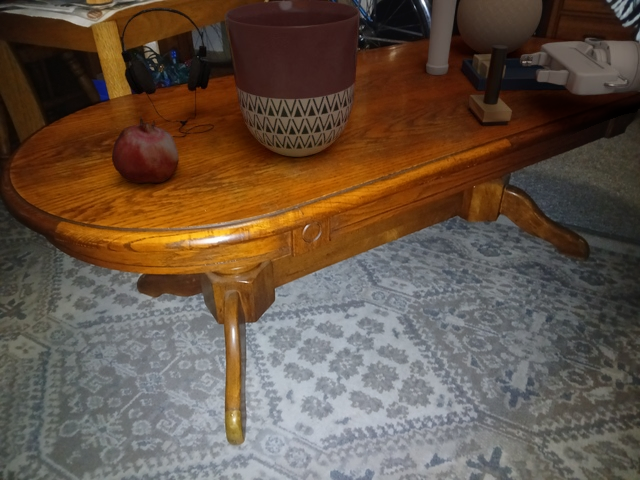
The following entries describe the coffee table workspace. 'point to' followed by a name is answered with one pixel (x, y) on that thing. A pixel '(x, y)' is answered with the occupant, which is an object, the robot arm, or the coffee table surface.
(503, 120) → the brush
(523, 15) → the decorative sphere
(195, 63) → the headphones
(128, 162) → the fruit
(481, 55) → the crumb
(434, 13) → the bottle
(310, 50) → the planter
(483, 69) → the beige cube
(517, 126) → the coffee table surface
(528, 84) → the tray
